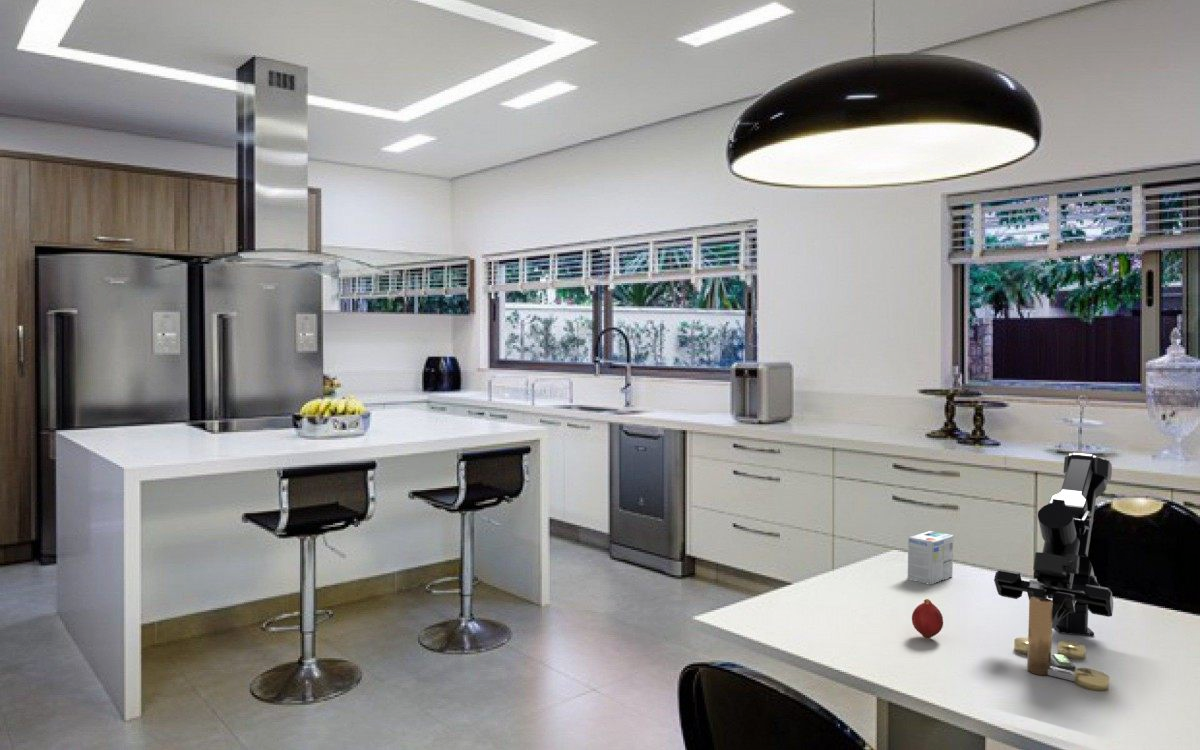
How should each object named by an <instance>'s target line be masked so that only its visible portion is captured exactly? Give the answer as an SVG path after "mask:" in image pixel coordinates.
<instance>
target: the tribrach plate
mask: <svg viewBox="0 0 1200 750" xmlns="http://www.w3.org/2000/svg"><path fill="white" fill-rule="evenodd" d="M1013 645H1014V647H1013V649H1014V651H1015V652H1017V653H1018V654H1021V655H1025V656H1028V637H1015V639H1014V644H1013ZM1070 659H1072V660H1084V659H1086V646H1085V645H1084V644H1081V643H1078V642H1075V641H1069V640H1061V641H1058V642H1057V654H1056V653H1053V654H1051V666H1052V667H1057V668H1061V669H1065V670H1069V671H1074V672H1075V669H1077V667H1076V665H1075V664H1074V663H1073V662H1072V661H1071V660H1070Z"/></svg>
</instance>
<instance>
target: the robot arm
mask: <svg viewBox="0 0 1200 750" xmlns="http://www.w3.org/2000/svg"><path fill="white" fill-rule="evenodd" d="M1112 473H1113V465H1112V463H1111V461H1110V460H1108V459H1106V457H1105V458H1104V457H1099V456H1098V455H1094V454H1092V453H1080V452H1072V453H1068V455H1066V456H1064V462H1063V475H1065V477H1064V479H1063V483H1062V486H1061V490H1060V492H1058V493H1056V494H1053V495H1052V496H1051V497H1050V499H1049V500H1048V501H1049V502H1048V504H1046V505H1045V504H1044V505H1043V506H1042V507H1041V508H1040V509H1039V510H1038V512H1037V519H1038V523H1039V528H1040V533H1041V538H1042V539H1043V540H1044V541H1043V548H1042V552H1041V551H1036V552H1035V554H1034V561H1033V568H1032V570H1033V571H1034V572H1033V578H1034V579H1036V580H1034V579H1030V580H1029V581H1028V580H1022V576H1021V572H1018V571H1012V570H1006V569H1003V568H1002V569H999V570H998V571H996V572H995V575H994V578H993V581H994V584H995V588H996V591H997V594H998V595H999V596H1001V597H1003V598H1008V599H1009V598H1010V599H1015V600H1017V599H1019V598H1021V597H1022V596H1023V592H1024V593H1025V592H1026V593H1027V598H1028V600H1029V599H1030V597H1043V598H1047V599H1050V600H1052V601H1053V613H1052V630H1053V629H1055V630H1056V632H1058V633H1060V634H1066V635H1067V634H1070V635H1081V636H1082V635H1083V636H1095V632H1094V631H1093V630H1092V629H1091V628H1089V612H1090V613H1091V614H1093V615H1097V616H1103V617H1108V618H1109V617H1112V616H1113V611H1114V598H1113V592H1112V590H1111V589H1110V588H1109V587H1105V586H1101V585H1100V583H1099V582H1098V580H1097V576H1096V575H1095V572H1094V568H1093V565H1092V563H1091V560H1090V558H1089V550H1090V543H1091V536H1092V534H1091V533H1092V530H1093V523H1094V514H1095V509H1096V500H1097V498H1098V497H1100V495H1102V494H1103V493H1104V492H1105V491H1106V490H1107V484H1108V481H1111V479H1112V476H1113V475H1112Z"/></svg>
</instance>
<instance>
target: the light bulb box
mask: <svg viewBox="0 0 1200 750" xmlns="http://www.w3.org/2000/svg"><path fill="white" fill-rule="evenodd" d="M954 538H955V537H954V534H950V533H949V534H948V533H943V532H938V531H932V530H927V531H925V532H922V533H919V534H915V535H912V536H909V537H908V539H907V540H908V542H907V543H908V544H907V546H908V547H907V580H909V579H912V580H911V581H913V580H916V581H915V582H917V581H920V582H919V583H921V582H924V583H923V584H925V583H928V584H927V585H929V584H932V585H935V584H937V583H936V582H938V583H940V582H942V581H941V580H943V581H945V580H947V578H948V579H950V578H949V577H951V578H952V577H953V565H954V564H953V563H954V562H953V560H954ZM944 579H945V580H944ZM939 581H940V582H939ZM934 583H935V584H934Z"/></svg>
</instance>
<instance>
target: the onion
mask: <svg viewBox="0 0 1200 750" xmlns="http://www.w3.org/2000/svg"><path fill="white" fill-rule="evenodd" d="M943 618H944V617H943V614H942V613H941V610H940V609H939V608H938V607H937V606H936V605H934V603H932V601H931V600H930V599H929V598H926V599H924V600H923V602H921V603H920V604H918V605H917V606H916V607H915V608H914V610H913V612H912V615H911V623H912V626H913V628H914V630H916V631H917V633H919V634H920V635H921V636H922V637H923V638H924V639H927V640H928V639H930V638H932V637H934V636H936V635H938V634H939V633H940V632H941V631H942V629H943V628H944V619H943Z"/></svg>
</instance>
